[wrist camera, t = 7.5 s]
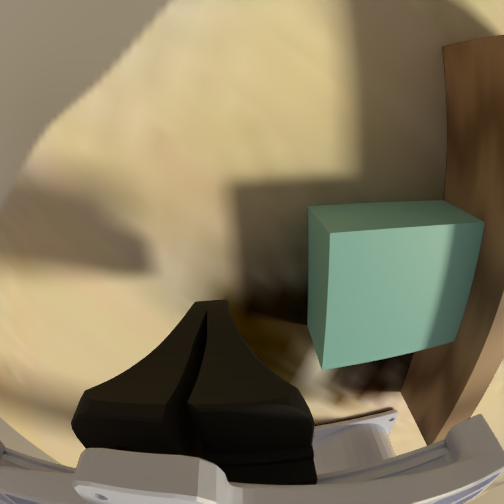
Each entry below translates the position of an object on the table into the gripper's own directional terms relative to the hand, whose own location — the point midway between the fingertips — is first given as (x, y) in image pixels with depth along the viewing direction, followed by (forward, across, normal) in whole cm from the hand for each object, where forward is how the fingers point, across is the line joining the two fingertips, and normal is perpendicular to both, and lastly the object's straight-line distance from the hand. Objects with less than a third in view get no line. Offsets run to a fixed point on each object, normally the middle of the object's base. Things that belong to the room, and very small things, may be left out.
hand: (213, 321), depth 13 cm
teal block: (+4, -9, 0) cm, 10 cm away
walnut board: (+4, -14, 0) cm, 14 cm away
